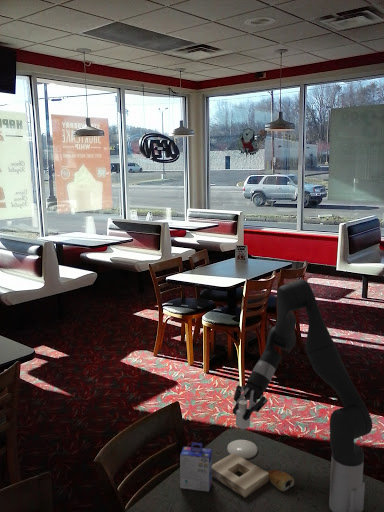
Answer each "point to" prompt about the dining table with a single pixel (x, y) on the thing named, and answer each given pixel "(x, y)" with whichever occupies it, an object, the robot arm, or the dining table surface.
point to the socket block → (246, 482)
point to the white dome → (242, 448)
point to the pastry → (280, 479)
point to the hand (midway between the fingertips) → (239, 416)
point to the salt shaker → (240, 413)
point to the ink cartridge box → (196, 468)
